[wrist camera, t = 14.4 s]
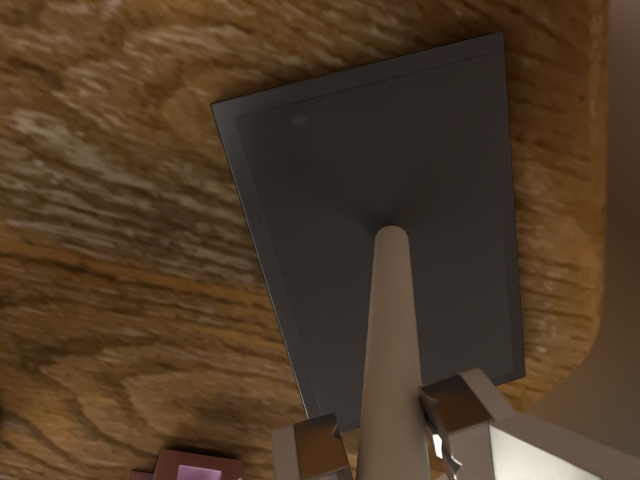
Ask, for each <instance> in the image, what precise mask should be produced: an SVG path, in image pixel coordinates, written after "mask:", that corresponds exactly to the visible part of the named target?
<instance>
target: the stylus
mask: <svg viewBox="0 0 640 480" xmlns="http://www.w3.org/2000/svg"><path fill="white" fill-rule="evenodd" d="M421 385H422V381H421V370H420V359H419V348H418V338H417V327H416V316H415V305H414V295H413V284H412V273H411V262H410V252H409V241H408V236H407V234H406V232H405V231H404V230H403V229H402V228H400V227H397V226H386V227H384V228H382V229H381V230H380V231H379V232H378V233H377V235H376V238H375V249H374V261H373V274H372V286H371V298H370V310H369V323H368V335H367V347H366V359H365V372H364V384H363V396H362V408H361V420H360V433H359V445H358V457H357V469H356V480H431V477H430V466H429V456H428V445H427V434H426V424H425V413H424V408H423V406H422V404H421V402H420V400H419V397H418V386H421Z"/></svg>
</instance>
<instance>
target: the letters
mask: <svg viewBox="0 0 640 480" xmlns="http://www.w3.org/2000/svg"><path fill="white" fill-rule="evenodd" d="M242 478H243V461H241V460H234V459H227V458H221V457H214V456H207V455H201V454H194V453H187V452H181V451H174V450H167V449H162V450H161V453H160V456H159V459H158V462H157V466H156V469H155V472H154V474H153V473H145V472H138V471H132V472H131V475H130V478H129V480H242Z"/></svg>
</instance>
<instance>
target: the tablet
mask: <svg viewBox="0 0 640 480" xmlns="http://www.w3.org/2000/svg"><path fill="white" fill-rule="evenodd" d="M210 106H211V110H212V113H213V116H214V119H215V122H216V126H217V129H218V132H219V135H220V138H221V142H222V145H223V148H224V151H225V155H226V158H227V161H228V164H229V167H230V171H231V174H232V177H233V180H234V183H235V187H236V190H237V193H238V196H239V200H240V203H241V206H242V209H243V212H244V216H245V219H246V222H247V225H248V228H249V232H250V235H251V238H252V241H253V245H254V248H255V251H256V254H257V257H258V261H259V264H260V267H261V270H262V273H263V277H264V280H265V283H266V286H267V290H268V293H269V296H270V299H271V302H272V306H273V309H274V312H275V315H276V318H277V322H278V325H279V328H280V331H281V334H282V338H283V341H284V344H285V347H286V351H287V354H288V357H289V360H290V363H291V367H292V370H293V373H294V376H295V379H296V383H297V386H298V389H299V392H300V396H301V399H302V402H303V405H304V408H305V412H306V415H307V418H308V420H309V419H313V418H316V417H320V416H323V415H327V414H330V413H334V412H335V416H336V419H337V423H338V426H339V430H340V433H341V434H344V433H347V432H350V431H353V430H356V429H360V420H361V408H362V396H363V384H364V372H365V359H366V347H367V335H368V323H369V310H370V298H371V286H372V274H373V261H374V249H375V238H376V235H377V233H378V232H379V231H380V230H381V229H382V228H384V227H386V226H397V227H400V228H402V229H403V230H404V231H405V232H406V234H407V236H408V241H409V252H410V262H411V273H412V284H413V295H414V305H415V316H416V327H417V338H418V348H419V359H420V370H421V381H422V385H424V384H427V383H430V382H433V381H436V380H439V379H443V378H446V377H449V376H452V375H455V374H457V373H460V372H464V371H467V370H470V369H473V368H476V367H477V368H479V369H481V370H482V371H483V372H484V374H485V375H486V376H487V377H488V378H489V380H490V381H491V382H492V383H493V384H494V385H495V386H498V385H501V384H504V383H507V382H511V381H514V380H517V379H520V378H523V377H525V361H524V346H523V330H522V314H521V299H520V283H519V267H518V252H517V236H516V220H515V205H514V189H513V173H512V158H511V142H510V127H509V111H508V95H507V80H506V64H505V48H504V33H503V31H499V32H494V33H490V34H486V35H482V36H478V37H474V38H470V39H466V40H462V41H458V42H454V43H450V44H446V45H442V46H438V47H434V48H430V49H425V50H421V51H417V52H413V53H409V54H405V55H401V56H397V57H393V58H389V59H385V60H381V61H377V62H373V63H369V64H365V65H361V66H357V67H353V68H349V69H345V70H341V71H337V72H333V73H329V74H325V75H321V76H317V77H313V78H309V79H305V80H301V81H297V82H293V83H289V84H285V85H281V86H277V87H273V88H269V89H265V90H261V91H257V92H253V93H249V94H245V95H241V96H237V97H232V98H228V99H224V100H220V101H216V102H213V103H211V104H210Z"/></svg>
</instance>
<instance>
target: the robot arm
mask: <svg viewBox="0 0 640 480" xmlns="http://www.w3.org/2000/svg"><path fill="white" fill-rule="evenodd" d="M418 397H419V400H420V402H421V404H422V406H423V408H424V413H425V424H426V433H427V436H428V439H429V441H430V443H431V446H432V448H433V450H434V452H435V454H436V455H437V456H438V457H440V458H442V459H443V464H444V470H445V473H446V475H447V477H448V478H449V480H640V459H638V458H635V457H633V456H630V455H628V454H625V453H623V452H621V451H618V450H616V449H613V448H611V447H609V446H606V445H604V444H601V443H599V442H596V441H594V440H592V439H589V438H587V437H584V436H582V435H579V434H577V433H575V432H572V431H569V430H567V429H565V428H562V427H560V426H558V425H555V424H553V423H550V422H548V421H545V420H543V419H540V418H538V417H536V416H533V415H531V414H528V413H526V412H523V413H520V414H518V413H517V411H516V410H515V409H514V408H513V407H512V405H511V404H510V403H509V402H508V401H507V400H506V398H505V397H504V396H503V395H502V394H501V392H500V391H499V390H498V389H497V388H496V387H495V385H494V384H493V383H492V382H491V381H490V380H489V378H488V377H487V376H486V375H485V374H484V372H483V371H482V370H481V369H479V368H477V367H476V368H473V369H470V370H467V371H464V372H460V373H457V374H455V375H452V376H449V377H446V378H443V379H439V380H436V381H433V382H430V383H427V384H424V385H421V386H418ZM272 449H273V463H274V478H275V480H353V476H352V473H351V469H350V465H349V462H348V458H347V454H346V451H345V447H344V444H343V440H342V437H341V433H340V430H339V426H338V423H337V419H336V416H335V412H334V413H330V414H327V415H323V416H320V417H316V418H313V419H309V420H306V421H302V422H299V423H295V424H294V425H290V426H286V427H283V428H279V429H275V430H273V432H272Z"/></svg>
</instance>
